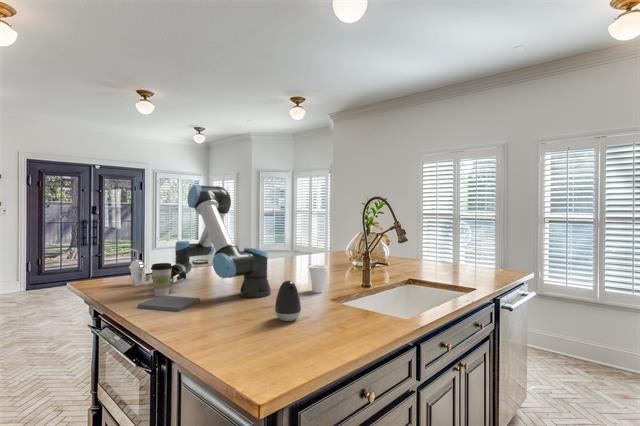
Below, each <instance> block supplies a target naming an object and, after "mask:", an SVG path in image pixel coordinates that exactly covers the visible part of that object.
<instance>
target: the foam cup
mask: <svg viewBox="0 0 640 426" xmlns="http://www.w3.org/2000/svg"><path fill="white" fill-rule="evenodd" d="M308 269H309V275H310V276H309V277H310V283H311V284H310V285H311V292H312V293H315V294H316V293H317V294H321V293H324V292H325V289H326V281H327V274H328V265H324V264H312V265H309V267H308Z"/></svg>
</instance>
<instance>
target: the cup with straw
mask: <svg viewBox="0 0 640 426" xmlns="http://www.w3.org/2000/svg"><path fill="white" fill-rule="evenodd" d="M129 250H131V251H134V252H136V259H135V260H132V261H131V262H130V265H128V269H130V275H131V282H132V286H133V287H134V286H135V287H138V286H142V285H143V281H144V280H143V279H144V272H145V268H147V265H146V264H145V263H144V261H143V260H141V259H139V250H137V249H135V248H129Z"/></svg>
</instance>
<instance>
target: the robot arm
mask: <svg viewBox="0 0 640 426" xmlns="http://www.w3.org/2000/svg"><path fill="white" fill-rule="evenodd" d="M187 204H188V207H189V208H191V209H195V211H196V213H197V214H198V215H199V216H200V215H201V218H202V221H203V223H204V228H203V232H202V233H201V236H200V239H199V240H198V243H196V242H195V243H191V242H190V241H189V240H178V241H176V242H175V245H174V246H175V249H174V250H175V251H174V252H175V262H174V263H175V264H173V265H171V266H172V269H171V280H172V283H176V282H178V281H180V280H186V279H187V274H189V273H190V272H191V270H192V263H191V262H190V259H191V257H202V256H209V255H212V254H213V253H214V255H213V257H212V269H213V270H214V272H215V274H216V276H217V277H219V278H221V279H231V278H235V277H242V276H243V279H242V283H241V287H240V288H239V289H240V290H239V295H240V296H241V297H243V298H250V299H255V298H256V299H257V298H264V297H268V296H270V295H271V294H272V293H271V292H272V288H271V285H270V282H269V280H268V259H269V258H268V257H269V256H268V251H267V249H265V248H257V247H244V248H243V250H241V251H240V248H239V247H238V245H237V244H234V243H233V241H232V239H231V237H230V234H229V232H228V229H227V227H226V226H225V223H224V221H223V220H224V218H225V215H226V214H228V213H229V211H230V209H231V205H232V198H231V195H230V193H229V192H228V190H227V189H226V188H224V187H221V186H216V185H215V186H213V185H201V184H199V185H192V186H191V187H190V188H189V191H188V193H187ZM214 251H215V252H214ZM143 279H144V280H143V281H144V283H147V282H149V281H153V279H152V272H149V273H145V276H143Z"/></svg>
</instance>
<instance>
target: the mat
mask: <svg viewBox="0 0 640 426" xmlns="http://www.w3.org/2000/svg"><path fill="white" fill-rule="evenodd" d="M200 302H201V298H200V297H189V296H188V297H187V296H176V295H175V296H174V295H166V296H165V295H162V296H155V297H153V298H151V299H149V300H145V301H143V302H141V303H138V304H137V308H138V309H145V310H146V309H147V310H156V311H170V312H180V311H183V310H185V309H187V308H190V307H191V306H193V305H195V304H198V303H200Z"/></svg>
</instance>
